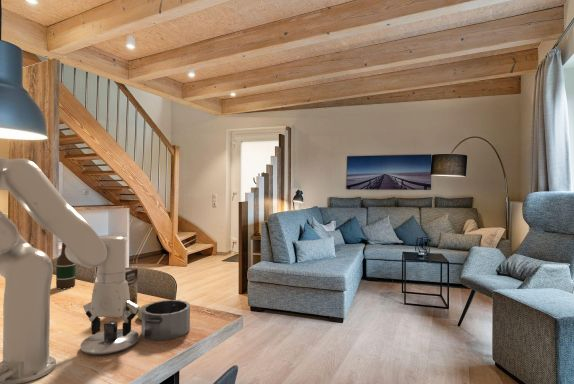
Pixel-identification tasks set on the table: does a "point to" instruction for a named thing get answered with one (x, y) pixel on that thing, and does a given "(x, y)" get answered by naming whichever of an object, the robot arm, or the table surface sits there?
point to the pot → (165, 320)
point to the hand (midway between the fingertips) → (111, 333)
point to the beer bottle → (65, 271)
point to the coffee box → (132, 284)
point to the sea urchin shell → (140, 312)
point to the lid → (109, 340)
